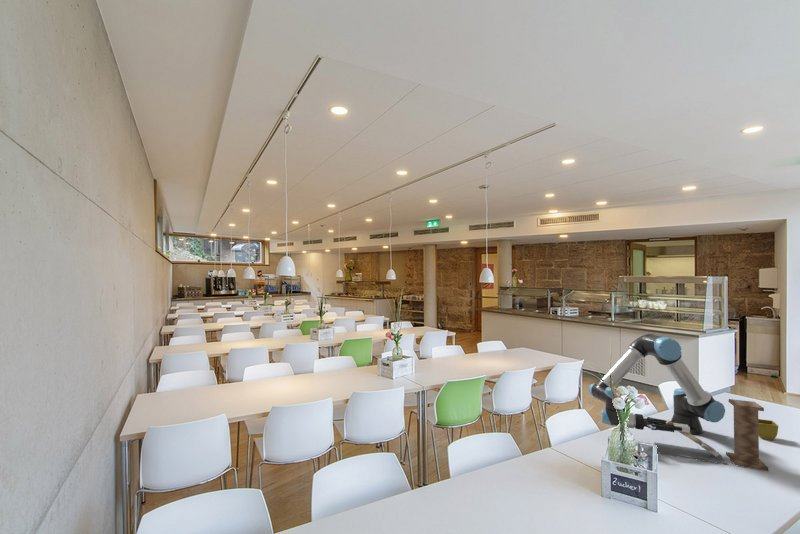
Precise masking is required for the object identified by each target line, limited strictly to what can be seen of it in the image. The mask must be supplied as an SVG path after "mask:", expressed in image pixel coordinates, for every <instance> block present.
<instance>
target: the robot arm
mask: <svg viewBox="0 0 800 534" xmlns="http://www.w3.org/2000/svg"><path fill="white" fill-rule="evenodd" d="M647 356H652V357H654V358H655V359H656V360H657V362H658V363H659V364H660V365H661V366H665V368H666V369H667V371H668V372H669V373H670V374H671V377H673V379H674V380H675V382H676V383H677V385H678V386H679V387H680V388H675V389H674V390H673V396H672V399H673V415H672V417H671V420H670V421H671V422H672V423H674V424H676V425H669V424H666V421H667V420H668V419H666V420H665V419H660V418H653V417H650V416H647V417H646V418H645V417H644V415H643V414H640V413H633V412H629V413H630V415H629V418H628V420H629V422H628V423H627V427H628V428H627V427H626V428H627V429H636V430H641V431H642V430H644V429H645V427H646V428H648V429H651V431H661V432H662V431H663V432H670V433H675V432H678V431H681V432H688V433H690V434H692V435H701V433H702V432H704V431H703V429H704V428H703V426H702V423H701V421H700V419H703V420H705V421H706V422H710V423H718V422H720V421H721V420H723V419H724V416H725V414H726V408H725V405H724V404H723V403H722V402H720V401H718V400H716V399H715V398H714V397H713V395H712V394H711V393H710V392H708V391H707V390H704V389H703V388H702V386H701V384H700V383H699V382H698V380H697V379H696V377H695V376H694V374H693V373H692V372H691V371H690V369H689V368H688V366H687V365H686V364H685V362H684V361H683V360H682V347H681V344H680V343H679V342H678V341H677V340H675V339H673V338H672V337H670V336H662V335H657V334H652V333H648V334H643V335H641V336H639V337H637V338H636V339H634V340H633V341H632V342H631V343H630V344H629V345H628V346H627V350H626V352H624V353H623V354H622V356H621V357H620V358H619V359H618V360H617V361H616V362H615V363H614V365H613V366H612V367H610V369H608V371H607V372H606V373H605V374H604V375H603V377H602V378H601V379H602V380H604V381H602V380H601V379H599V381H597V383H591V384H590V385H589V386H588V389H587V390H588V393H589V394H590V396H591V397H593V398H595V399H597V400H599V401H601V402H603V403H605V408H602V409H601V410H600V411H601V413H600V415H601V416H600V419H601V420H600V421H601V423H602V424H604V425H608V426H614V427H618V426H617V425H618V424H619V420H618V416H617V412H616V409H615V408H614V406H613V403H612V399H613V396H612V392H611V388H610V383H609V382H610V375H611V374H612V381H613V386H614V389H617V387H616V386H617V385H618V384H619V383H620V382H621V380H623V378H624V377H625V376H626V375H627V374H628V373H629V372H630V371H631V370H632V369H633V368H634V366H636V365H637V363H638V362H639V361H640V360H644V359H645V358H646V357H647ZM702 434H703V433H702Z"/></svg>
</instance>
